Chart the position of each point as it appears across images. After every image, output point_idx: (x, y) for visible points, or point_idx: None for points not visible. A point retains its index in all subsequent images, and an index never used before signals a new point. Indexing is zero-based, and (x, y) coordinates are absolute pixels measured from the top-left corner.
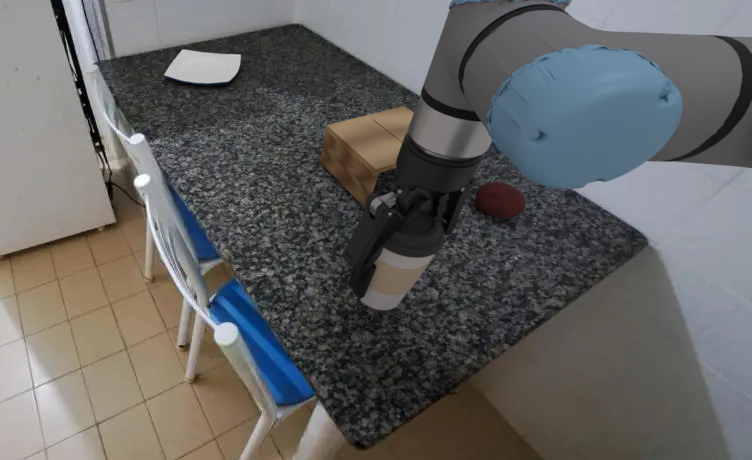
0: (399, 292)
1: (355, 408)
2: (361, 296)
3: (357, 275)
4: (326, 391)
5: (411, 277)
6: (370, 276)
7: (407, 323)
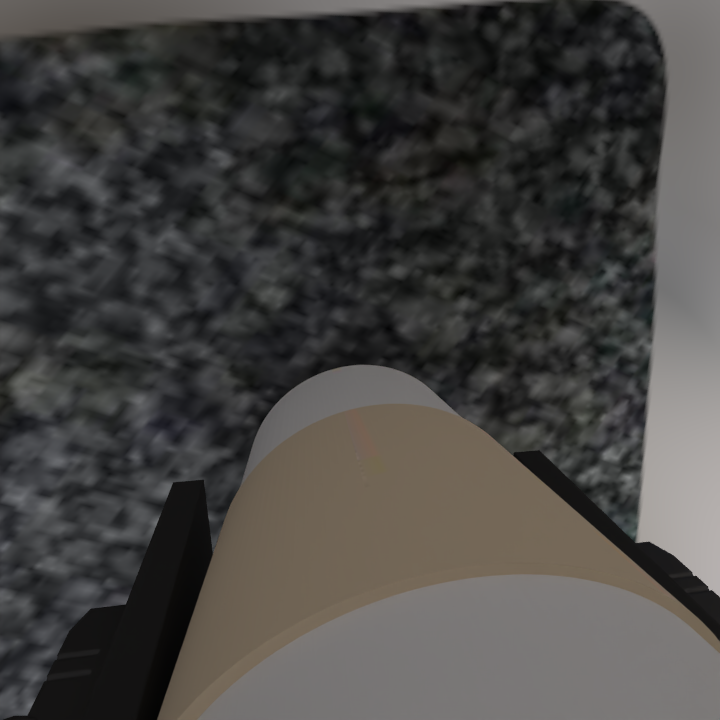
0: (433, 415)
1: (611, 107)
2: (542, 459)
3: (707, 592)
4: (651, 198)
5: (484, 490)
6: (643, 566)
7: (237, 307)
